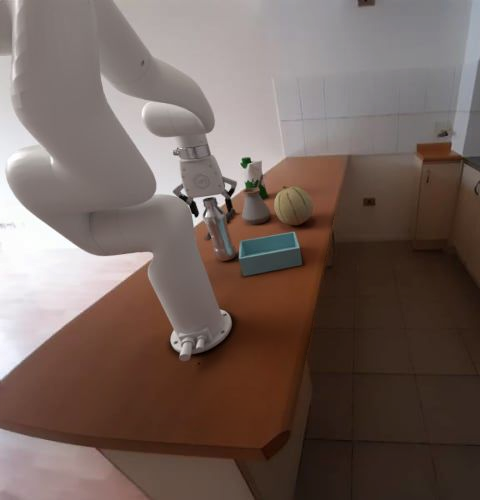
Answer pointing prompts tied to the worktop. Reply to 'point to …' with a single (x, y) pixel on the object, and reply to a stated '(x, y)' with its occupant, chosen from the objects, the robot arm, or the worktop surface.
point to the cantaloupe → (293, 205)
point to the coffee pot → (255, 206)
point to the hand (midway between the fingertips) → (213, 213)
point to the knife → (228, 216)
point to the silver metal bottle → (218, 230)
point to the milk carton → (253, 175)
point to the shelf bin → (269, 253)
